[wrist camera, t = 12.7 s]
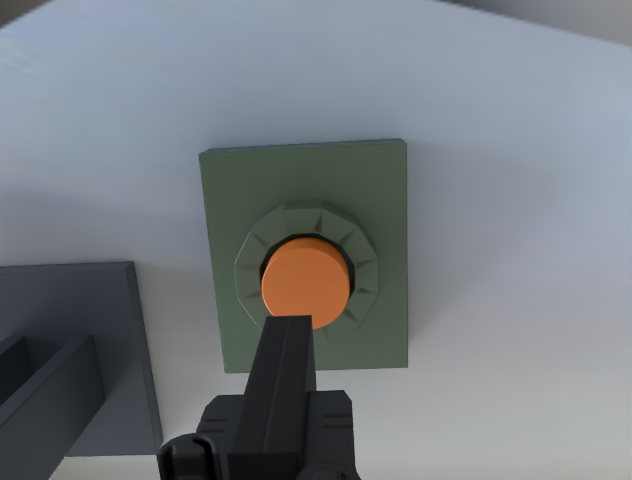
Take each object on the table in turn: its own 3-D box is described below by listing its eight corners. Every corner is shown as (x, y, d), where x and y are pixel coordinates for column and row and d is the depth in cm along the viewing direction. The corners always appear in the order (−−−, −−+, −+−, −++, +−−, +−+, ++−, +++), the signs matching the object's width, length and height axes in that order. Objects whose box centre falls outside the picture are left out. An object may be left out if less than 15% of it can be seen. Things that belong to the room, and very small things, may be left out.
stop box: (209, 148, 27) (187, 159, 23) (400, 138, 26) (411, 146, 23) (232, 353, 30) (217, 392, 26) (403, 348, 30) (413, 386, 26)
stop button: (263, 238, 24) (257, 249, 23) (347, 235, 24) (347, 245, 22) (269, 315, 26) (265, 331, 24) (350, 312, 25) (351, 328, 24)
